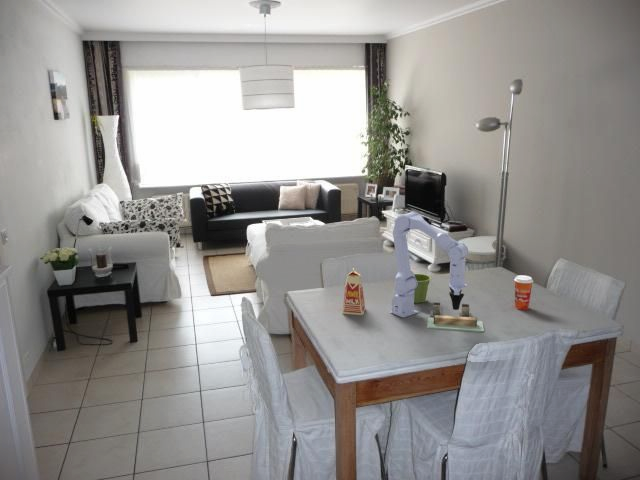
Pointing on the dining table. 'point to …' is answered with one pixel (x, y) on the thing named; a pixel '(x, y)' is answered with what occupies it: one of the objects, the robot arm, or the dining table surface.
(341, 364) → the dining table surface
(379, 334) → the dining table surface
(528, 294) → the paper cup
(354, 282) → the milk carton
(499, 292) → the dining table surface
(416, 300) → the plant pot
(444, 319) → the rail
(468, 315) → the standards
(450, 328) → the mat
